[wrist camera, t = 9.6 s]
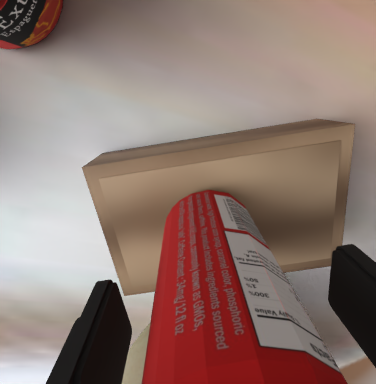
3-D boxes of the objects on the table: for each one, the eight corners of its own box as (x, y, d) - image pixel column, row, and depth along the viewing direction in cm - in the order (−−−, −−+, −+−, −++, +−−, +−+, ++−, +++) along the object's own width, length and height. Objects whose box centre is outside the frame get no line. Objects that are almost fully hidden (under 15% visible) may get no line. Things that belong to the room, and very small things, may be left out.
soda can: (158, 252, 16) (100, 605, 5) (175, 178, 14) (145, 483, 3) (235, 266, 17) (342, 612, 5) (261, 197, 15) (512, 512, 3)
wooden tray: (311, 235, 21) (340, 265, 17) (134, 261, 21) (124, 296, 17) (316, 118, 17) (356, 124, 13) (102, 153, 17) (81, 168, 14)
